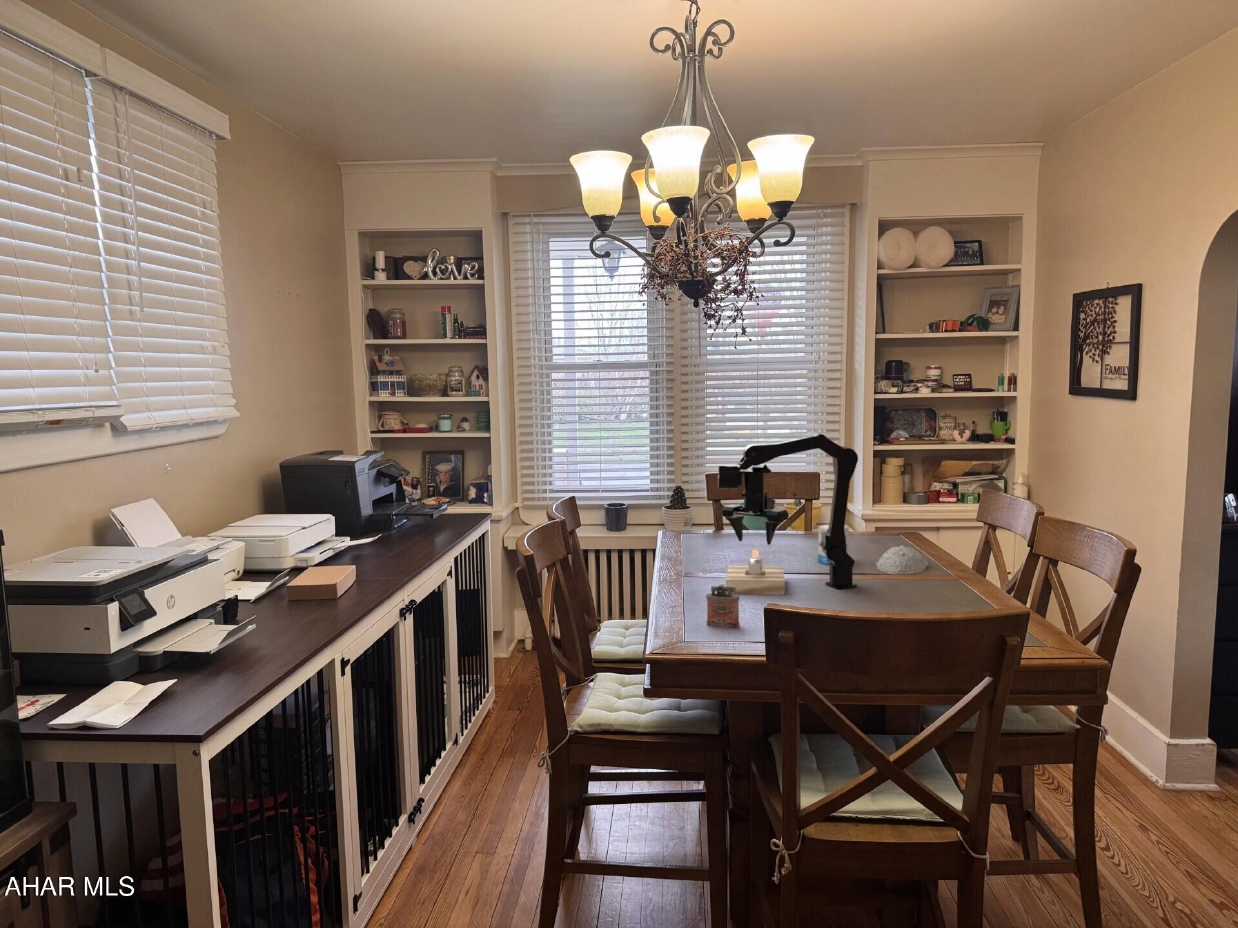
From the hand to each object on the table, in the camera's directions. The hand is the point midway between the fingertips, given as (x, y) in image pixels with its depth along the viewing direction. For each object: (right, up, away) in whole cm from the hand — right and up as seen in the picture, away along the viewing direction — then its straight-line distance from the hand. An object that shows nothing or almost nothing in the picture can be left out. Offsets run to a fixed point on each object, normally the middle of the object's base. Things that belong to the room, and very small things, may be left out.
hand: (754, 542), depth 225 cm
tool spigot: (+1, -13, +1) cm, 13 cm away
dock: (0, -13, +1) cm, 13 cm away
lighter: (-13, -17, -33) cm, 40 cm away
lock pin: (+3, -7, +15) cm, 16 cm away
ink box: (+30, -9, +28) cm, 42 cm away
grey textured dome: (+50, -10, +22) cm, 55 cm away
